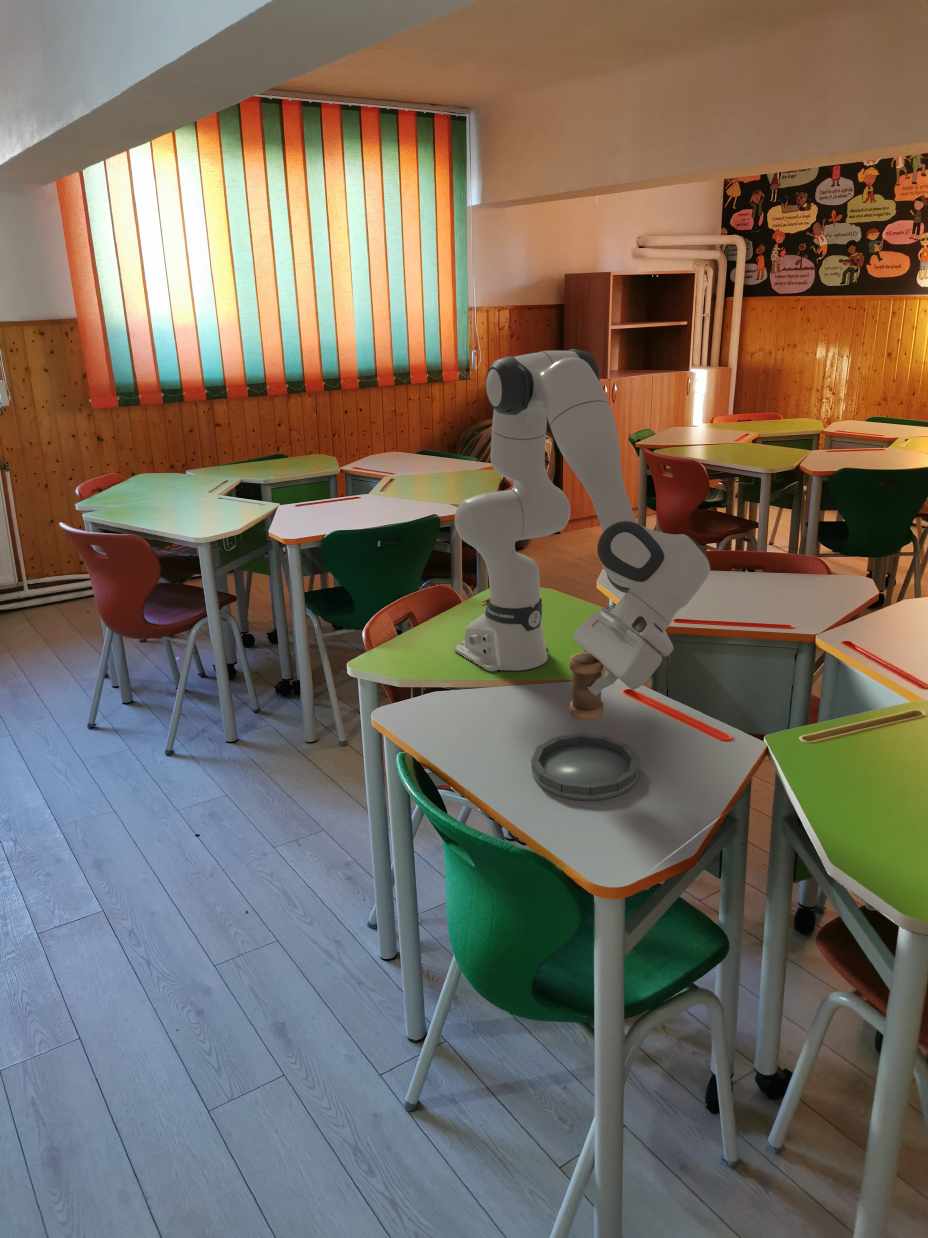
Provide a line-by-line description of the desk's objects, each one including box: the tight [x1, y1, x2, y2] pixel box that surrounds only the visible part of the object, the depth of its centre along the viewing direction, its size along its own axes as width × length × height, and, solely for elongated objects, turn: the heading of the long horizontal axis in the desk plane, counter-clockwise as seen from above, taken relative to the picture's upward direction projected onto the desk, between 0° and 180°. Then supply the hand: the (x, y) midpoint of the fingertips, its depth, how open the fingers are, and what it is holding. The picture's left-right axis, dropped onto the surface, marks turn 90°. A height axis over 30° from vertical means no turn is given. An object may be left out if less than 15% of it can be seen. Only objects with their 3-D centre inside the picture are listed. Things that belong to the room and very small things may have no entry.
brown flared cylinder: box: [569, 651, 605, 721], centre depth 149 cm, size 6×6×10 cm
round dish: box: [531, 732, 640, 802], centre depth 154 cm, size 18×18×2 cm
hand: (583, 684), depth 149 cm, fingers closed on brown flared cylinder, 5 cm apart
